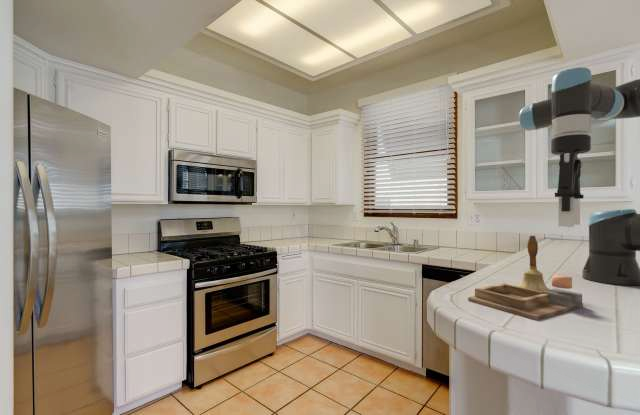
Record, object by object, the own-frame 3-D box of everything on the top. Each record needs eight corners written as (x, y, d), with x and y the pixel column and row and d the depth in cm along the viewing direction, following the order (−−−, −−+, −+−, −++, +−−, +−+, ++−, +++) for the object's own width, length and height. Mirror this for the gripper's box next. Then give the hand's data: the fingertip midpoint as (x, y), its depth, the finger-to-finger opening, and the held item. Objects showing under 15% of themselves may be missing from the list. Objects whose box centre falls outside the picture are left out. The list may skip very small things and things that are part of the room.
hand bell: (533, 294, 92) (534, 237, 92) (510, 287, 100) (510, 234, 100) (557, 293, 94) (558, 236, 94) (532, 286, 102) (532, 234, 102)
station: (514, 291, 96) (514, 279, 96) (583, 306, 81) (583, 293, 81) (468, 300, 86) (468, 288, 86) (536, 320, 71) (536, 305, 71)
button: (557, 283, 84) (557, 274, 84) (575, 287, 81) (575, 277, 81) (548, 285, 82) (548, 276, 82) (566, 289, 79) (566, 279, 79)
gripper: (558, 145, 90) (558, 223, 91) (542, 129, 72) (541, 226, 72) (594, 142, 85) (593, 224, 85) (586, 123, 67) (585, 228, 67)
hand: (569, 225), depth 79 cm, fingers open, 13 cm apart
